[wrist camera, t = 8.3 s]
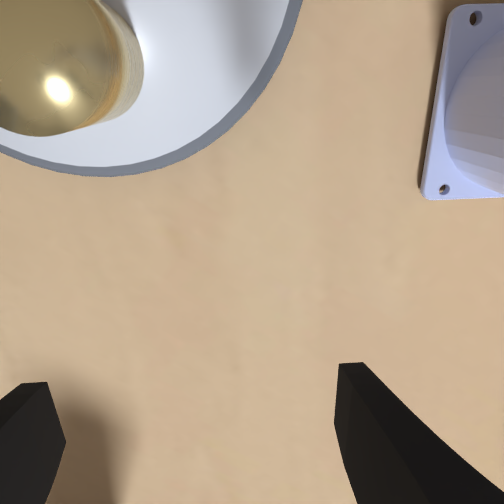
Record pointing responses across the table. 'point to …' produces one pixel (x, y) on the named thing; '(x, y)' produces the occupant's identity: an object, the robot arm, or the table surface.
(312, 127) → the table surface
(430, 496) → the robot arm
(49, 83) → the cylinder
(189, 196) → the table surface
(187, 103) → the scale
